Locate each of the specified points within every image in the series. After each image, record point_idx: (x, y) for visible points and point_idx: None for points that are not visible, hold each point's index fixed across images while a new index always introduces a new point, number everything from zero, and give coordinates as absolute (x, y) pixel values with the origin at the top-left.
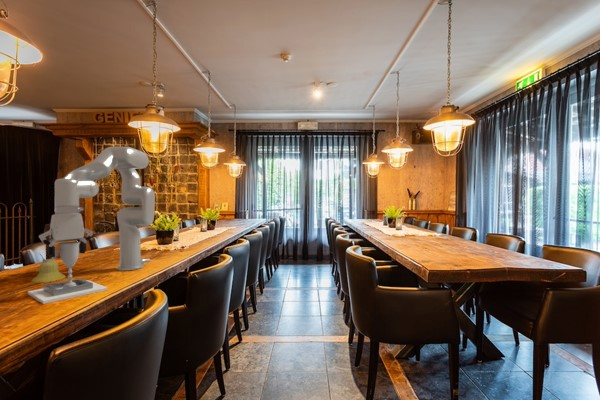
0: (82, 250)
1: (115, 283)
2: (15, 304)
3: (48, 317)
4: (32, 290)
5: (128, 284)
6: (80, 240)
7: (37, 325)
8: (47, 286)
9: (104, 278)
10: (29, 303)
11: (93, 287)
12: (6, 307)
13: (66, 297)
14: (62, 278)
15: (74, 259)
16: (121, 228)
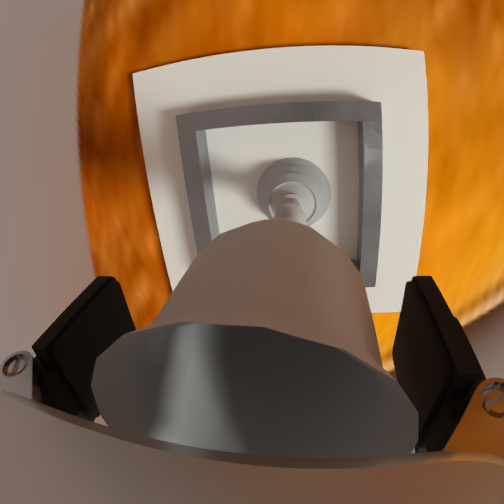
0: (397, 375)
1: (485, 213)
2: (107, 228)
3: None
4: (149, 69)
5: (492, 281)
6: (452, 441)
7: None
8: (189, 165)
9: (496, 46)
10: (142, 255)
11: (378, 261)
12: (90, 245)
13: None
14: None
15: (303, 340)
16: None
